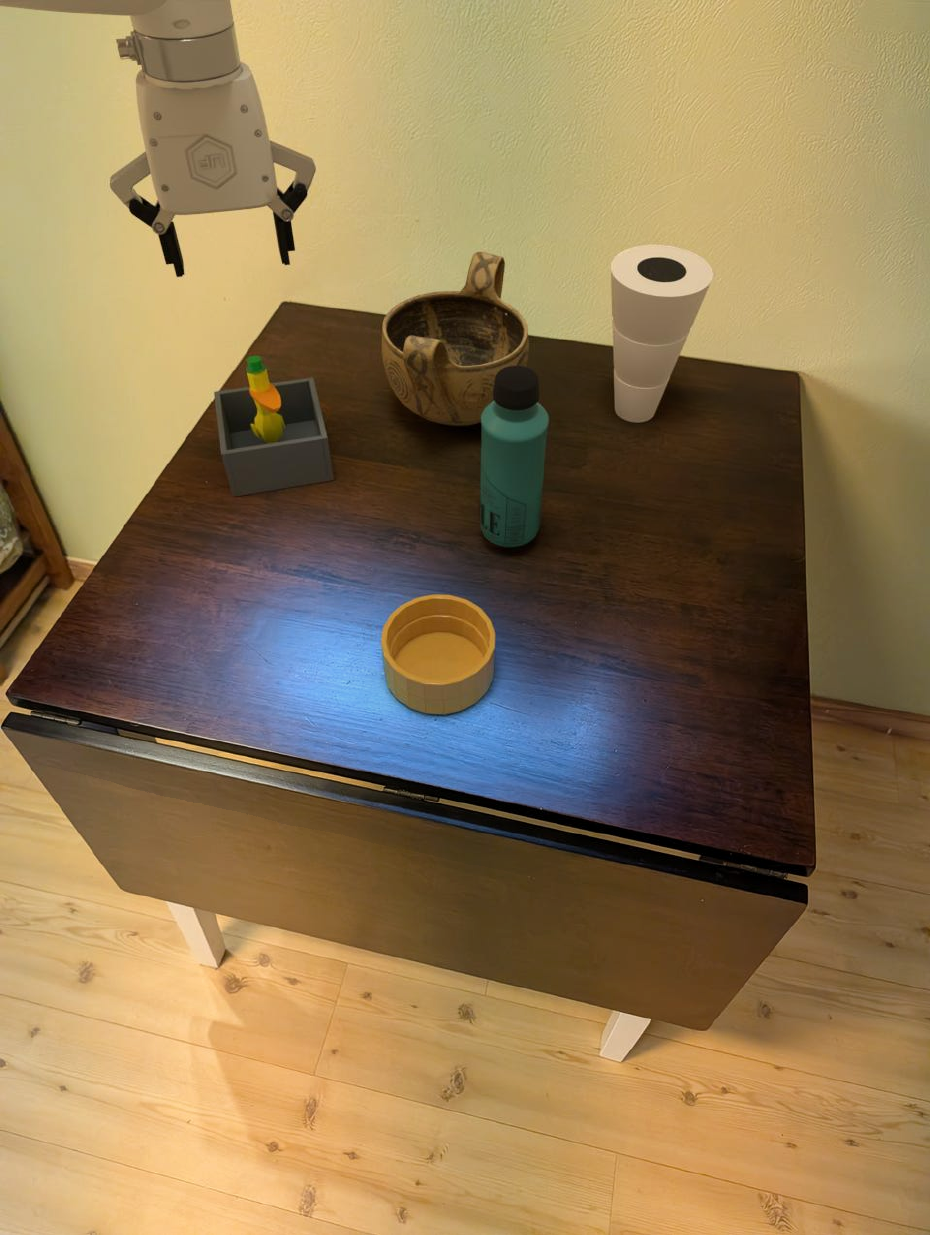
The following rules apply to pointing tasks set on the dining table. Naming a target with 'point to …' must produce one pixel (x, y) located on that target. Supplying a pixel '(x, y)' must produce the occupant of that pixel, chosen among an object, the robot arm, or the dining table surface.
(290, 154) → the robot arm
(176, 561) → the dining table surface
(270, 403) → the toy figure
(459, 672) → the mustard bowl
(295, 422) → the grey bin
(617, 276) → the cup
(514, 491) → the beverage bottle
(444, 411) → the ceramic bowl
